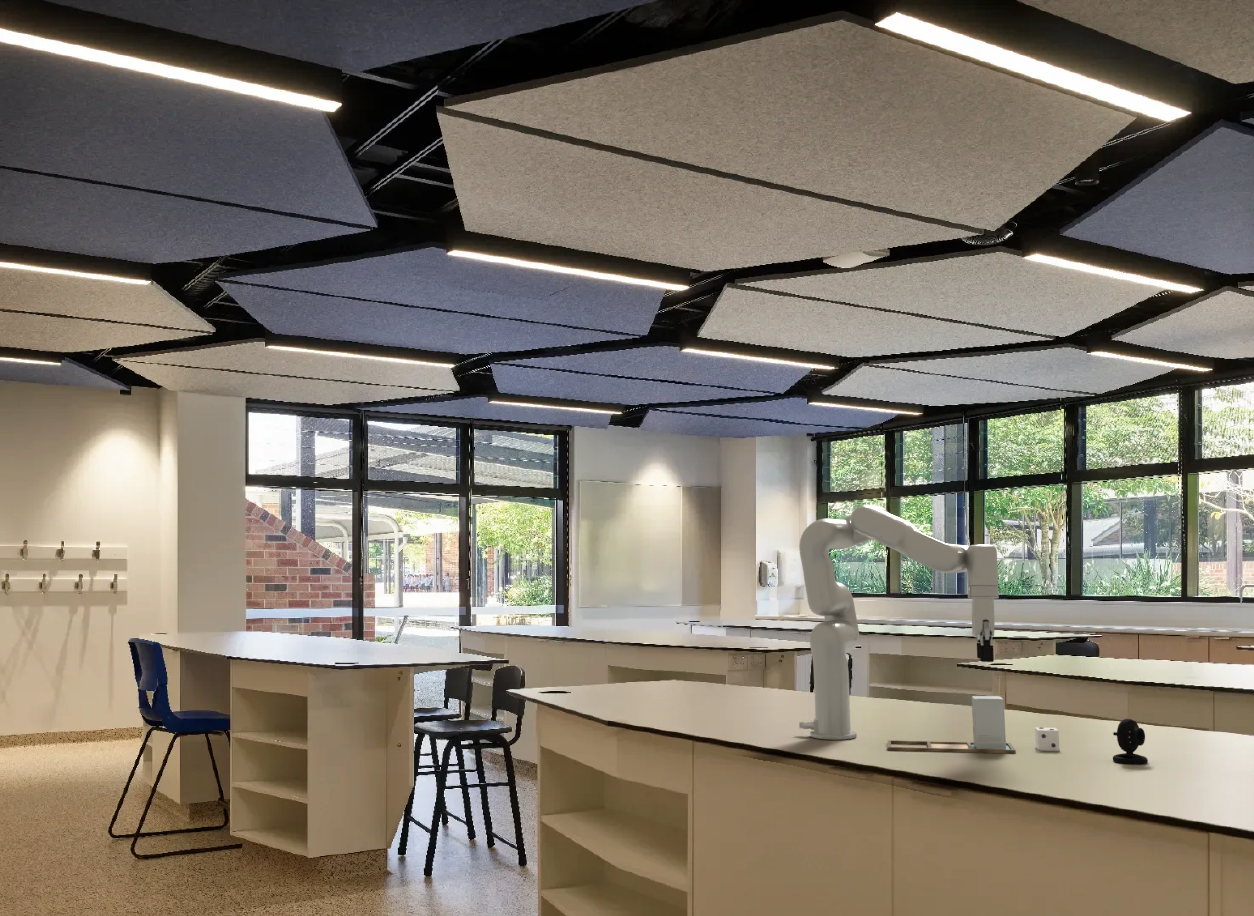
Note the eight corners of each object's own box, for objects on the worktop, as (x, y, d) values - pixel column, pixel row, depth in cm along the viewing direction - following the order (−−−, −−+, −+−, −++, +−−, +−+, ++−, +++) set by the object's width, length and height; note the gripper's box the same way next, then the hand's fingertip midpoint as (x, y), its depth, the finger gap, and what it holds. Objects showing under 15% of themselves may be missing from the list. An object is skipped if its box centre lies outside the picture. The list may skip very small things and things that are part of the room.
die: (1038, 750, 273) (1037, 729, 273) (1035, 747, 277) (1034, 726, 278) (1059, 751, 271) (1058, 730, 272) (1056, 747, 276) (1055, 727, 277)
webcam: (1136, 766, 249) (1134, 721, 250) (1106, 761, 255) (1103, 718, 256) (1154, 762, 254) (1151, 718, 255) (1124, 758, 260) (1121, 715, 261)
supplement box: (1006, 750, 271) (1004, 698, 272) (975, 749, 272) (973, 698, 274) (1003, 745, 278) (1001, 695, 279) (973, 745, 280) (970, 695, 281)
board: (887, 750, 275) (887, 747, 275) (887, 743, 286) (887, 740, 286) (1015, 753, 268) (1015, 750, 268) (1010, 746, 279) (1010, 742, 279)
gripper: (965, 591, 288) (967, 657, 287) (970, 593, 271) (972, 662, 270) (995, 591, 286) (997, 657, 285) (1001, 593, 270) (1004, 663, 268)
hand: (985, 660), depth 277 cm, fingers open, 9 cm apart
